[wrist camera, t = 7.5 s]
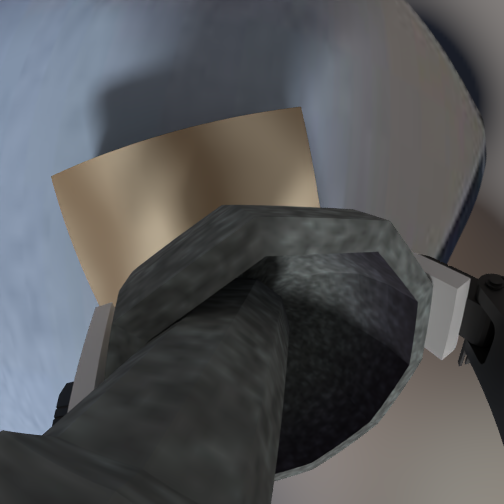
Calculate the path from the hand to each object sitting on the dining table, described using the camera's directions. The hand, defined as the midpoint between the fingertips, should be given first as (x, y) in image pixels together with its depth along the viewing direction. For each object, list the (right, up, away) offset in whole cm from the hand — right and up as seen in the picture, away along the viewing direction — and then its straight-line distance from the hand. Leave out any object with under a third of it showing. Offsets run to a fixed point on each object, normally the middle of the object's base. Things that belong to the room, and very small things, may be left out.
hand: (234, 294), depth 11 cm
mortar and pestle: (-1, 0, +1) cm, 2 cm away
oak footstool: (-3, +3, +10) cm, 11 cm away
